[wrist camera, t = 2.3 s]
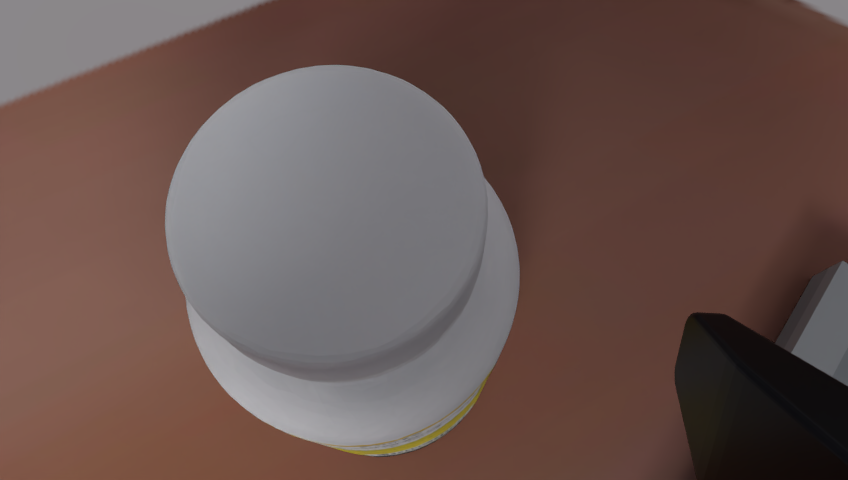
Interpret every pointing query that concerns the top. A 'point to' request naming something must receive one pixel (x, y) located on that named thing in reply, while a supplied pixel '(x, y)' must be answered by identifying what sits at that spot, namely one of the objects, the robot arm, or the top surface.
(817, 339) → the gray tray
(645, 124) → the top surface
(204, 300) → the supplement bottle
